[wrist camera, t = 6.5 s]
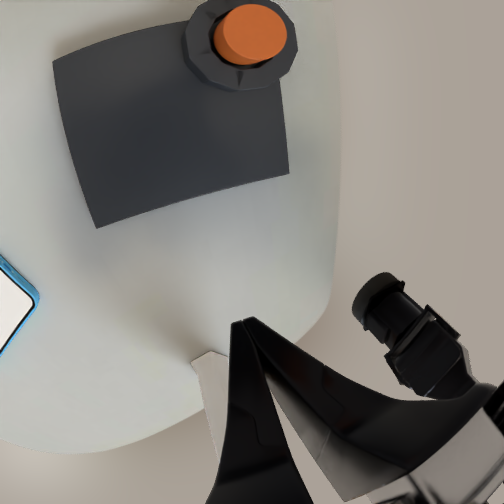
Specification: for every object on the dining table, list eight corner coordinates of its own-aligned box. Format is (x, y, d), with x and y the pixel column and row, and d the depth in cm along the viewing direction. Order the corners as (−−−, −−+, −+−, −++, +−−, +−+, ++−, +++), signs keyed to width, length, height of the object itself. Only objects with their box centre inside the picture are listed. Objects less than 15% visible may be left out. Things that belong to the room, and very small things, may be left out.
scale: (268, 7, 12) (289, -6, 10) (289, 168, 19) (311, 179, 17) (56, 49, 9) (40, 40, 7) (98, 221, 16) (91, 242, 14)
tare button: (266, 14, 11) (282, 4, 9) (274, 63, 13) (291, 58, 11) (209, 16, 10) (218, 4, 8) (217, 68, 12) (228, 62, 10)
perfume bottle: (178, 370, 25) (220, 510, 13) (203, 345, 25) (261, 495, 13) (212, 380, 28) (260, 503, 16) (237, 358, 27) (298, 486, 15)
